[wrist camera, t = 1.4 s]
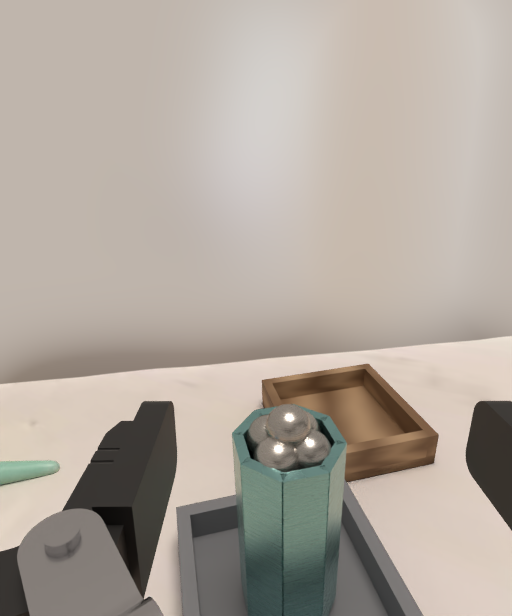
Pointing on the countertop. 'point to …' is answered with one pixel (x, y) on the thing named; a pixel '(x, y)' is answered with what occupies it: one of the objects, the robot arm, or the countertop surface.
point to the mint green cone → (25, 470)
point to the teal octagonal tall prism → (289, 509)
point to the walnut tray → (360, 417)
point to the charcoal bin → (227, 574)
